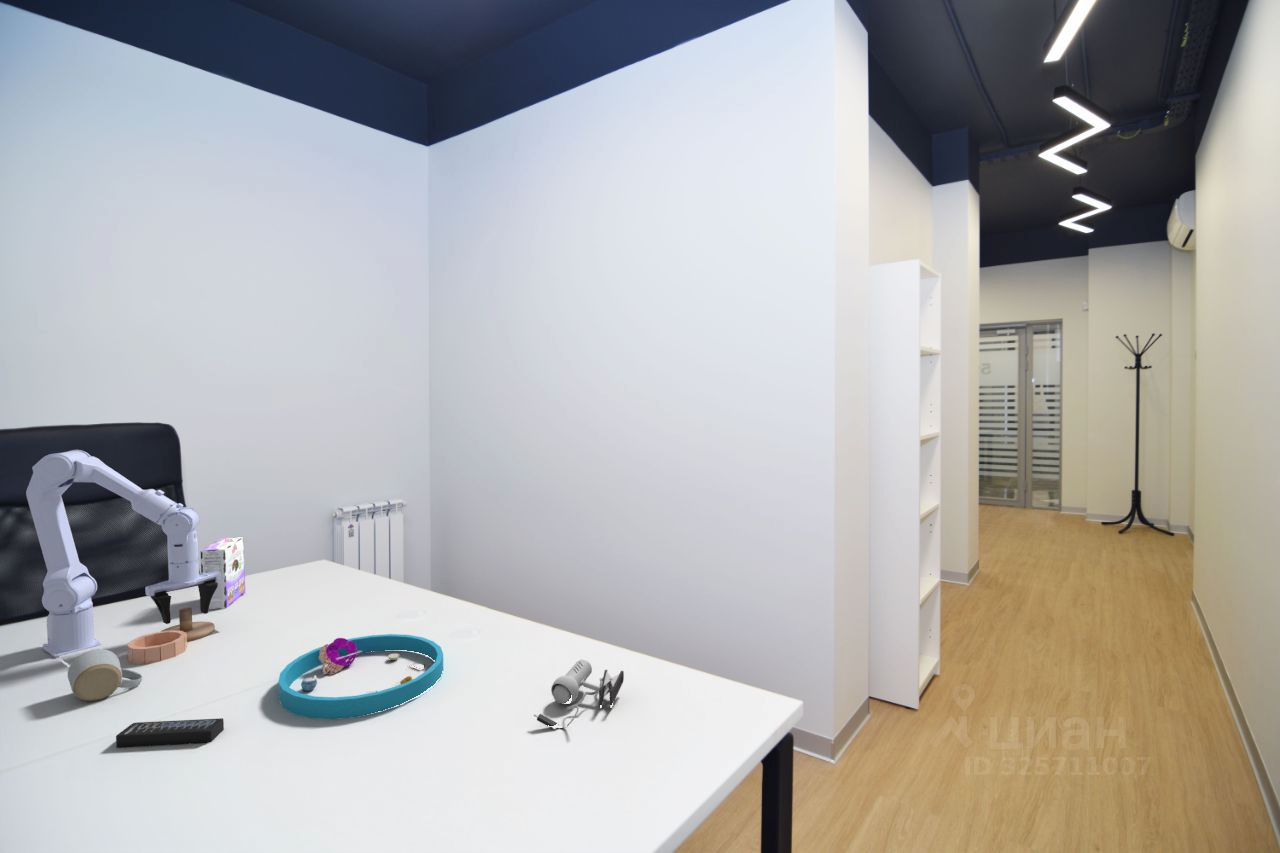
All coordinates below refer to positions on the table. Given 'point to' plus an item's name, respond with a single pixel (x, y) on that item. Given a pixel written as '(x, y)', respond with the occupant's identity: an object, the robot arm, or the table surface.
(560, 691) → the clip-on lamp
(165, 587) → the robot arm
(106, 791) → the table surface
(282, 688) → the teal ring
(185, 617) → the lid
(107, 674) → the ceramic mug
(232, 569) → the candy box
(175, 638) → the bowl
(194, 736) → the multiport hub
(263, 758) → the table surface
